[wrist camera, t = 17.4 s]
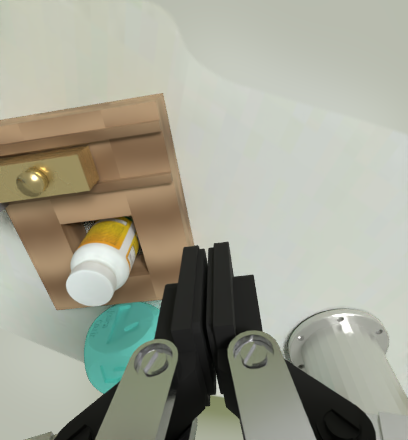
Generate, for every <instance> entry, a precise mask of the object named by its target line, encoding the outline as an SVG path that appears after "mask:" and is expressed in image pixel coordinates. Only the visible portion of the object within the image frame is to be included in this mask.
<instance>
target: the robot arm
mask: <svg viewBox="0 0 408 440" xmlns="http://www.w3.org/2000/svg"><path fill="white" fill-rule="evenodd" d="M388 347H389V336H388V333H387V331H386V329H385V328H384V326H383V324H382V323H381V322H380V321H379V320H378V319H377V318H375V317H374V316H373V315H371V314H368V313H366V312H363V311H359V310H353V309H336V310H330V311H326V312H323V313H320V314H317V315H315V316H313V317H311V318H309V319H307V320H306V321H304V322H303V323H301V324H300V325H299V326H298V327H297V328H296V329H295V331H294V332H293V333H292V335H291V337H290V340H289V343H288V351H289V356H290V359H291V362H292V363H293V364H291V363H290V362H288V361H287V360H285V359H284V357H283V355H282V352H281V350H280V347H279V345H278V343H277V342H276V340H275V339H274V338H273V337H272V336H270V335H269V334H267V333H265V332H263V331H262V325H261V319H260V312H259V306H258V300H257V294H256V287H255V281H254V275H246V276H237V277H234V275H233V268H232V262H231V255H230V248H229V242H223V243H214V247H213V248H209V249H208V263H207V258H206V253H205V249H199V246H198V245H197V246H189V247H184V248H183V253H182V260H181V266H180V273H179V279H178V283H172V284H166V285H165V288H164V293H163V298H162V303H161V307H160V312H159V317H158V322H157V327H156V332H155V337H154V339H153V340H151V341H148V342H145V343H144V344H142V345H141V346H139V347H138V348H137V349H136V350H135V351H134V352H133V354H132V356H131V357H130V359H129V362H128V364H127V366H126V369H125V371H124V373H123V376H122V378H121V380H120V381H119V382H118V383H117V384H116V385H114V386H113V387H112V388H111V389H110V390H108V391H107V392H106V393H105V394H103V395H102V396H101V397H100V398H98V399H97V400H96V401H95V402H94V403H92V404H91V405H90V406H89V407H87V408H86V409H85V410H84V411H83V412H81V413H80V414H79V415H78V416H76V417H75V418H74V419H73V420H72V421H70V422H69V423H68V424H67V425H66V426H65V427H64V428H63V429H62V430H61V431H60V432H59V433H58V434H55V435H53V433H52V432H48V433H45V434H42V435H38V436H35V437H32V438H28V439H25V440H195V435H196V429H197V416H198V415H199V414H200V413H201V412H202V411H203V410H204V409H205V406H210V395H216V375H217V379H218V384H219V389H220V393H221V394H224V399H225V404H226V407H227V408H228V409H229V410H230V411H231V412H232V413H234V414H235V415H236V416H237V417H238V418H239V419H240V424H241V429H242V434H243V438H244V440H408V398H407V396H406V394H405V392H404V390H403V388H402V387H401V385H400V383H399V381H398V379H397V377H396V375H395V373H394V372H393V370H392V368H391V366H390V364H389V362H388V360H387V359H386V357H385V354H386V352H387V350H388Z"/></svg>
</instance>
